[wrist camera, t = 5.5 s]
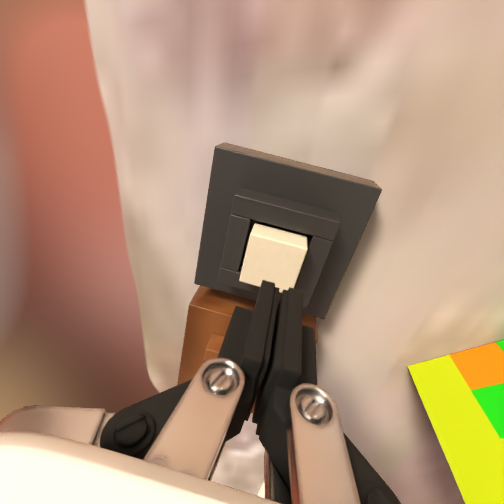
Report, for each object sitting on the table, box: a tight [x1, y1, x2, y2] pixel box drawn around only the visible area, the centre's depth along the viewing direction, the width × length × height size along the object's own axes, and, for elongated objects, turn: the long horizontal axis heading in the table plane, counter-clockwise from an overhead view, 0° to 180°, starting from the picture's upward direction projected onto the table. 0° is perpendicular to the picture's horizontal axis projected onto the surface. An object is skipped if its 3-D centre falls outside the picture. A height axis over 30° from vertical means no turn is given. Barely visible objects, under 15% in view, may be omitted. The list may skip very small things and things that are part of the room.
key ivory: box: [239, 223, 308, 293], centre depth 17 cm, size 3×3×2 cm
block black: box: [194, 143, 382, 319], centre depth 19 cm, size 10×10×4 cm
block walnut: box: [177, 285, 318, 413], centre depth 24 cm, size 10×10×4 cm
